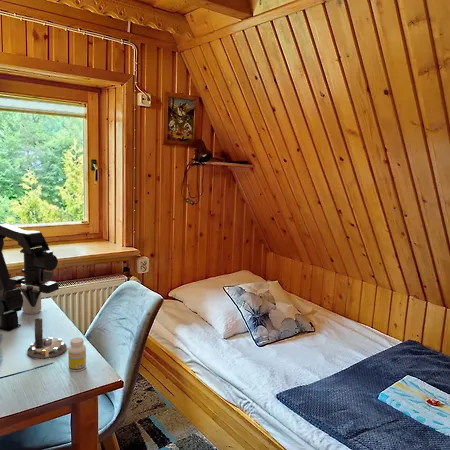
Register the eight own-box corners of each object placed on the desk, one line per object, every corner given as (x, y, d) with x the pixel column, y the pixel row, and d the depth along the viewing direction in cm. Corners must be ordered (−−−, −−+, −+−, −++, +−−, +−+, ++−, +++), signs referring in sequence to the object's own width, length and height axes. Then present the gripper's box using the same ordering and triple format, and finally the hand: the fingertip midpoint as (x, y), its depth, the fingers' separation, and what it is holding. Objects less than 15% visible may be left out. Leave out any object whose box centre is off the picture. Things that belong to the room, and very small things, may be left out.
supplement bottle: (73, 363, 143) (72, 335, 141) (88, 364, 142) (88, 337, 140) (65, 371, 137) (65, 342, 136) (81, 373, 137) (81, 344, 135)
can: (44, 312, 185) (43, 285, 183) (26, 316, 180) (26, 288, 178) (37, 307, 190) (36, 281, 188) (19, 311, 185) (18, 284, 183)
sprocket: (27, 355, 144) (26, 323, 142) (33, 342, 154) (32, 311, 152) (61, 353, 146) (61, 321, 145) (65, 340, 157) (65, 310, 155)
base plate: (18, 354, 146) (18, 344, 146) (45, 340, 158) (44, 330, 158) (49, 362, 142) (49, 351, 142) (74, 346, 154) (74, 336, 154)
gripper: (68, 264, 161) (68, 303, 163) (28, 258, 167) (29, 296, 169) (47, 271, 150) (48, 313, 153) (5, 264, 156) (6, 305, 159)
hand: (33, 306), depth 159 cm, fingers closed
